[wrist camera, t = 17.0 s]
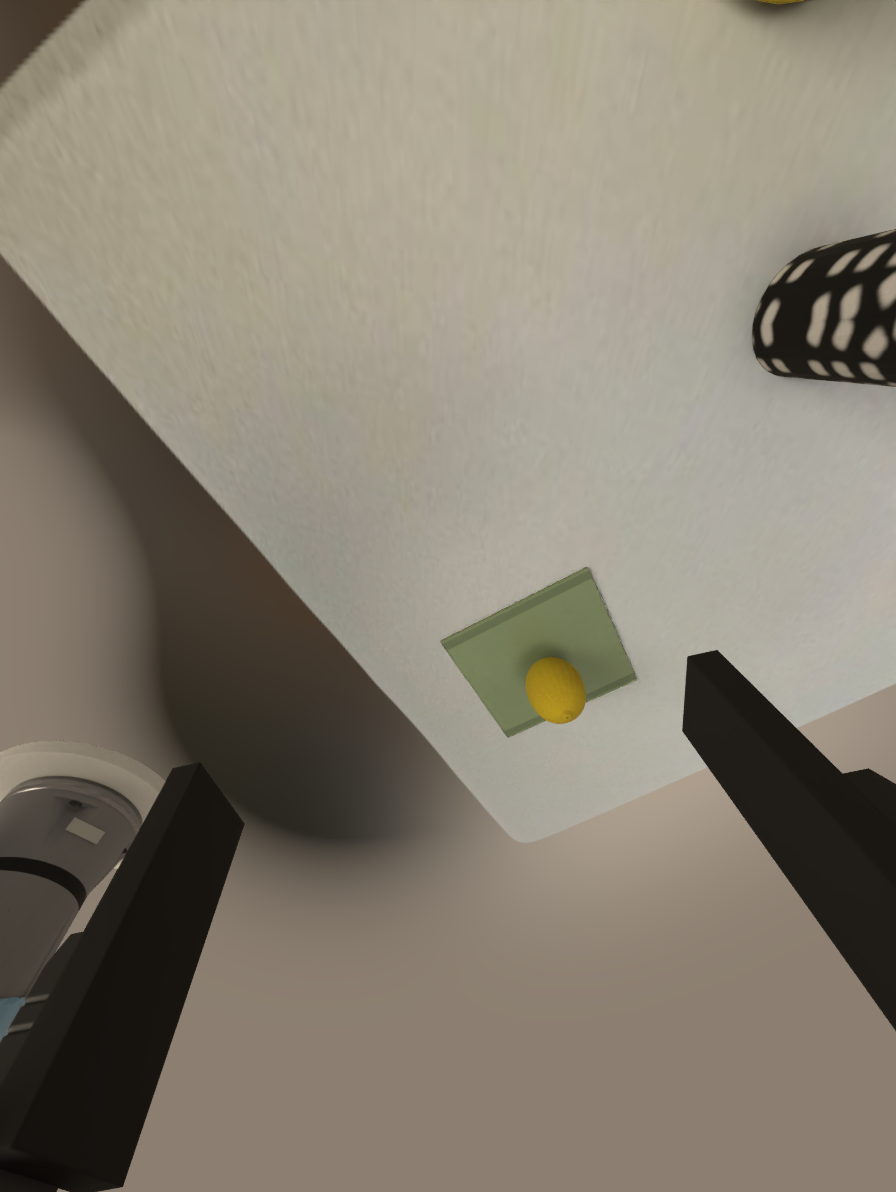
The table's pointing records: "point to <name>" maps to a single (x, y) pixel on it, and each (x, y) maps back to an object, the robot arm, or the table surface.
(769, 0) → the yellow pot
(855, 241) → the white-spotted black cylinder
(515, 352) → the table surface
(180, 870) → the robot arm
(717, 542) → the table surface
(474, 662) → the napkin
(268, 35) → the table surface
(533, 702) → the lemon
